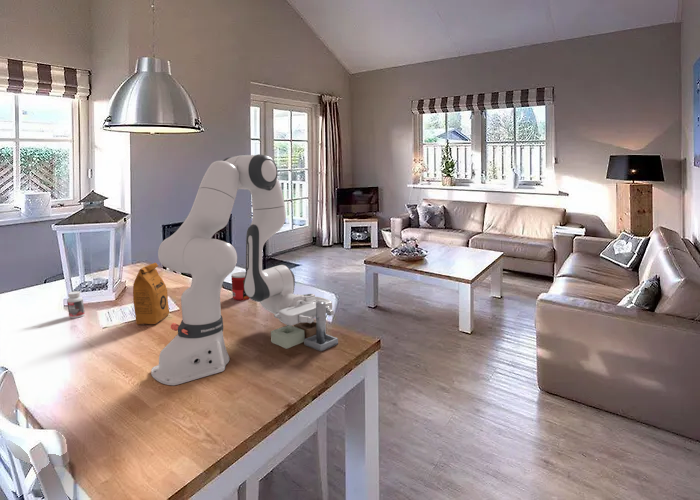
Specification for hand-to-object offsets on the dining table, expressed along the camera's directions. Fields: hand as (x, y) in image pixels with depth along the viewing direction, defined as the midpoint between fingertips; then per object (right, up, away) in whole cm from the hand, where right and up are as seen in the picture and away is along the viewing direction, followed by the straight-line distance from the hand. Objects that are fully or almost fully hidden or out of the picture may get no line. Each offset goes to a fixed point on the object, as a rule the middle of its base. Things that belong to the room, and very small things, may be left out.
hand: (322, 316), depth 150 cm
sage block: (-12, -9, +5) cm, 16 cm away
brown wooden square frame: (-5, -8, +10) cm, 14 cm away
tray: (-1, -10, +3) cm, 10 cm away
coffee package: (-67, -5, +26) cm, 72 cm away
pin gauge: (-1, -9, +2) cm, 9 cm away
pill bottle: (-100, -5, +31) cm, 105 cm away
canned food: (-39, 0, +53) cm, 66 cm away
